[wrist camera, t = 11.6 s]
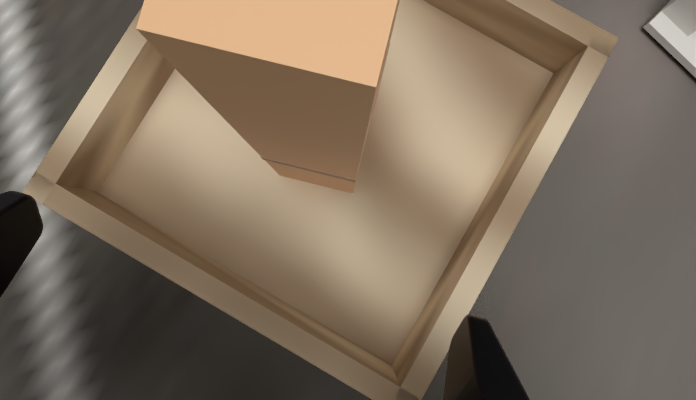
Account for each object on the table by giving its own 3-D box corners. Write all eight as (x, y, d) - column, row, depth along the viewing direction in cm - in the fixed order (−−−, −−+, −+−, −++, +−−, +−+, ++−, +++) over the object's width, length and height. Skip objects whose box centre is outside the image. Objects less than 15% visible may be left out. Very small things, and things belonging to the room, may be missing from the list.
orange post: (353, 194, 19) (377, 89, 6) (279, 175, 19) (133, 30, 6) (380, 86, 19) (459, -244, 6) (307, 68, 19) (231, -298, 6)
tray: (397, 389, 19) (409, 421, 15) (77, 200, 19) (22, 191, 16) (572, 71, 20) (618, 38, 16) (267, -99, 20) (252, -165, 17)
